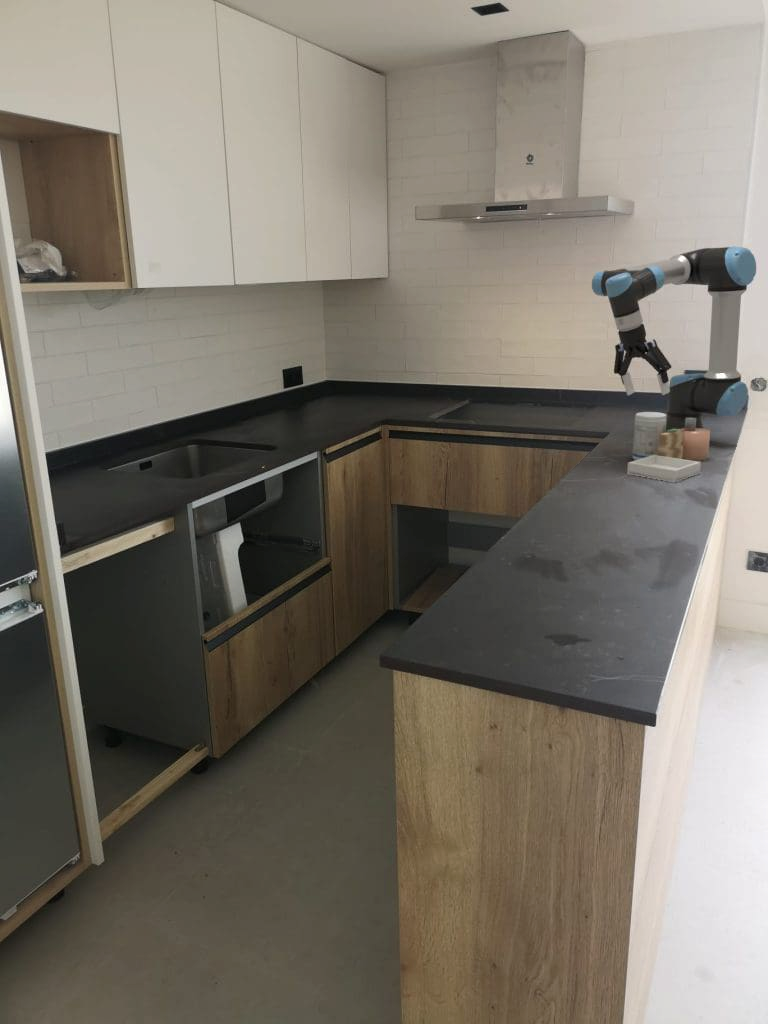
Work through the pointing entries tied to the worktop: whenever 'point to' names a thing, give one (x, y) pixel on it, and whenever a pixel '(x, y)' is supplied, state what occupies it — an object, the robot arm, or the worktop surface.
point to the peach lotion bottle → (695, 441)
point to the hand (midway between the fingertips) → (648, 393)
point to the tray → (664, 468)
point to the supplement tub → (647, 433)
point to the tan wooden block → (671, 443)
